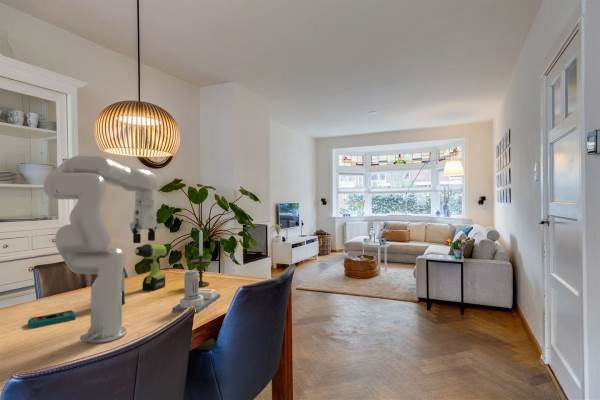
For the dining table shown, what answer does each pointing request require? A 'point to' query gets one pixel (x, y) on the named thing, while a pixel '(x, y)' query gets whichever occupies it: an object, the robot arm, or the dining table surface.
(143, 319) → the dining table surface
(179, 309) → the socket board
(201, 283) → the candlestick
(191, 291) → the energy drink can
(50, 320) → the digital multimeter
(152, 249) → the cordless drill
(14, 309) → the dining table surface
